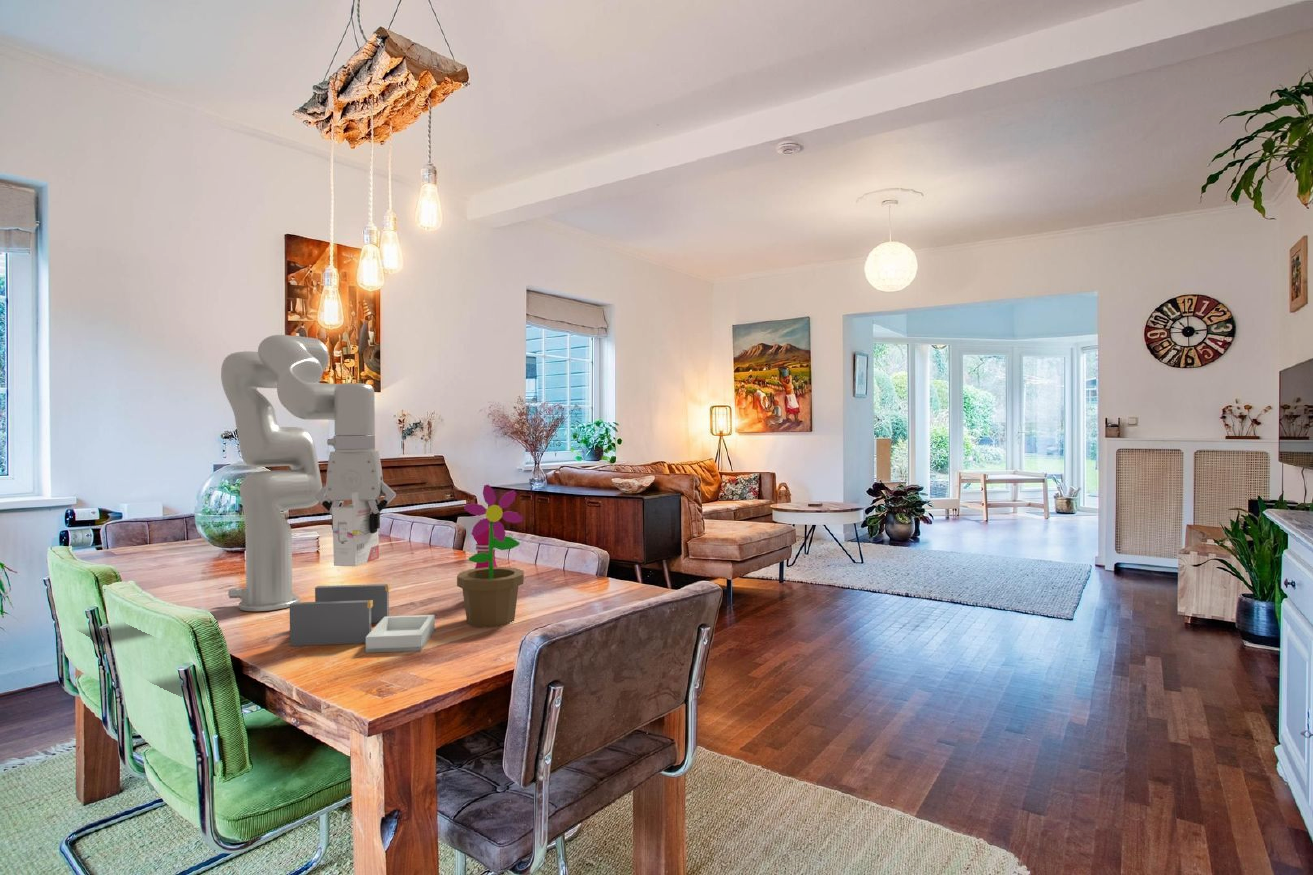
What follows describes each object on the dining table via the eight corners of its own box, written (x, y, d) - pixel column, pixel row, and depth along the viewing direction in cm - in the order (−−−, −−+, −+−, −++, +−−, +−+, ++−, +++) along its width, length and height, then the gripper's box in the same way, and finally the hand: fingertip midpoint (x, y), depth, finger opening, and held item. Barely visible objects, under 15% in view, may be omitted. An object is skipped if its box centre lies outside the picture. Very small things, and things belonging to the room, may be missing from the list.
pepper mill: (507, 597, 172) (507, 516, 172) (486, 604, 166) (485, 520, 166) (486, 594, 176) (486, 514, 176) (464, 600, 170) (464, 517, 170)
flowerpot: (462, 633, 143) (461, 486, 143) (452, 615, 156) (452, 481, 156) (531, 625, 149) (531, 484, 148) (516, 608, 162) (516, 479, 161)
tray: (365, 652, 131) (365, 637, 131) (384, 630, 145) (384, 616, 145) (421, 650, 132) (421, 634, 132) (434, 629, 146) (434, 614, 146)
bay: (290, 646, 135) (289, 604, 135) (318, 623, 151) (317, 585, 150) (370, 642, 137) (370, 602, 137) (390, 620, 153) (390, 583, 152)
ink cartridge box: (358, 558, 148) (357, 488, 147) (379, 558, 147) (378, 488, 146) (331, 566, 139) (330, 491, 139) (354, 567, 138) (353, 492, 138)
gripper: (303, 445, 138) (304, 536, 138) (394, 444, 140) (396, 534, 140) (316, 444, 145) (317, 531, 145) (403, 443, 147) (404, 529, 147)
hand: (356, 532), depth 143 cm, fingers closed on ink cartridge box, 6 cm apart
